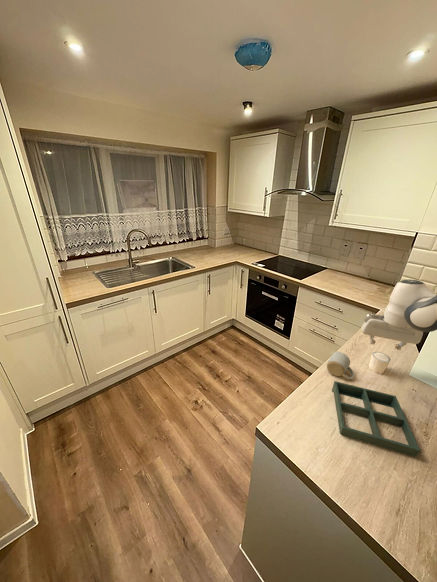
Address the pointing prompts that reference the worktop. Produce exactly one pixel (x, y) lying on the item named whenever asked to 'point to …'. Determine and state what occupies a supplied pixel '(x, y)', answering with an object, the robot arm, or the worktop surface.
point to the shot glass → (379, 362)
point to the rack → (374, 417)
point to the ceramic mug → (339, 365)
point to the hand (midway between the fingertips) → (384, 346)
